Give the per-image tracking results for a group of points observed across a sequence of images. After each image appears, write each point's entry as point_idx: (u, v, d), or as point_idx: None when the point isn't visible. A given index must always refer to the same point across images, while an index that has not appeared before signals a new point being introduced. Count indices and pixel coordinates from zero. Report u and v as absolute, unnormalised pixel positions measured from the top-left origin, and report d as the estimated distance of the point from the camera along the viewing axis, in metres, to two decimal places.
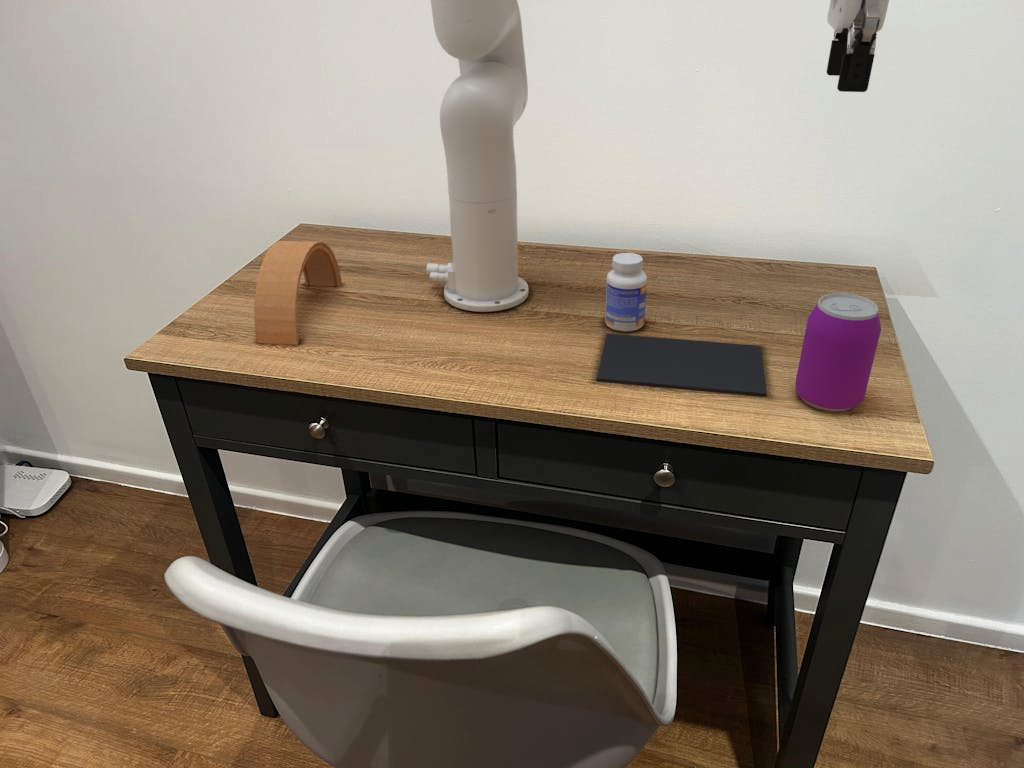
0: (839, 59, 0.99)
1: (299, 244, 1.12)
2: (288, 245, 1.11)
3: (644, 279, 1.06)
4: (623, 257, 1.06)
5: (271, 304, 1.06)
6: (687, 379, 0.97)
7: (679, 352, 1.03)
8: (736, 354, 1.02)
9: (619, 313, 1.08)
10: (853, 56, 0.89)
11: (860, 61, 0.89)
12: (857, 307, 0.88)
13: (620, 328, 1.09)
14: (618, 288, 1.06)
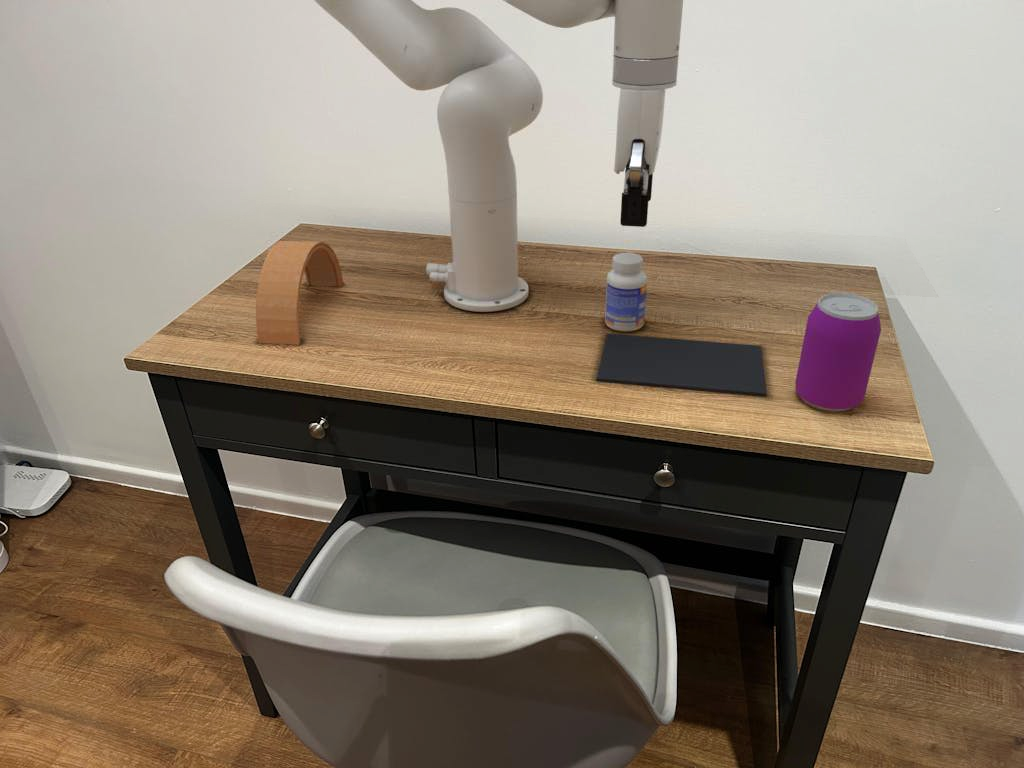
0: None
1: (301, 244, 1.12)
2: (289, 245, 1.11)
3: (644, 279, 1.06)
4: (623, 257, 1.06)
5: (272, 304, 1.06)
6: (687, 379, 0.97)
7: (679, 352, 1.03)
8: (736, 354, 1.02)
9: (619, 313, 1.08)
10: (628, 197, 0.96)
11: (635, 201, 0.96)
12: (857, 307, 0.88)
13: (620, 328, 1.09)
14: (618, 288, 1.06)
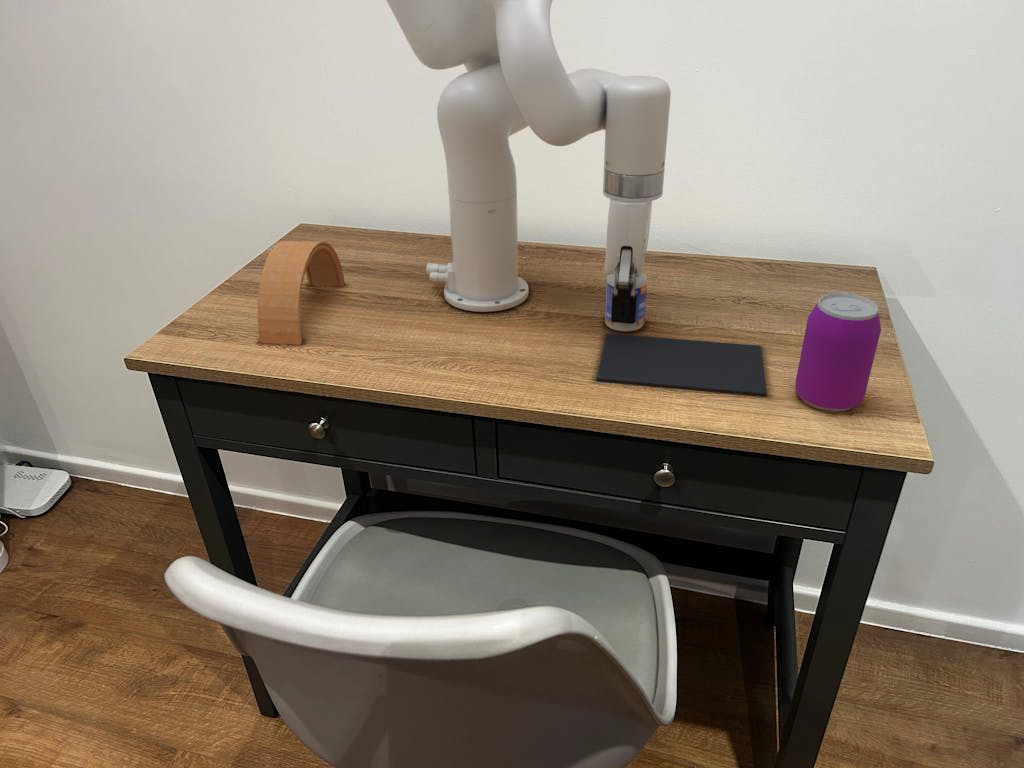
0: None
1: (302, 244, 1.12)
2: (291, 245, 1.11)
3: (644, 279, 1.06)
4: None
5: (274, 304, 1.06)
6: (687, 379, 0.97)
7: (679, 352, 1.03)
8: (736, 354, 1.02)
9: None
10: (618, 298, 1.05)
11: (624, 302, 1.05)
12: (857, 307, 0.88)
13: (620, 328, 1.09)
14: None
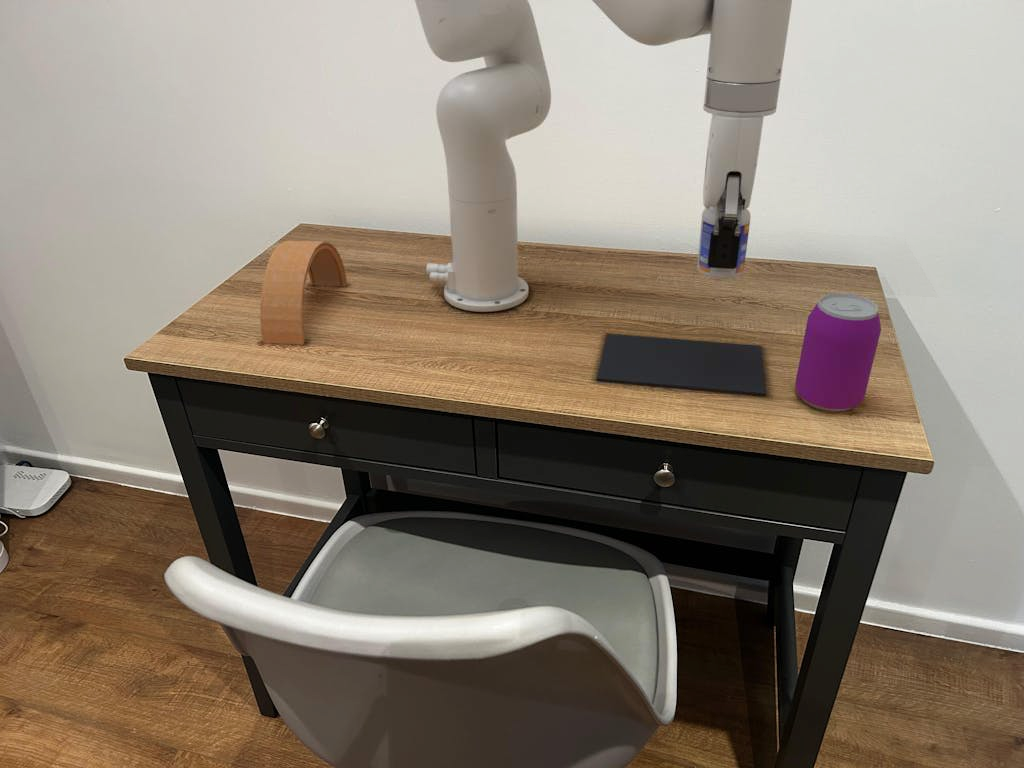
0: None
1: (305, 244, 1.12)
2: (293, 245, 1.11)
3: (748, 215, 0.90)
4: None
5: (277, 304, 1.06)
6: (687, 379, 0.97)
7: (679, 352, 1.03)
8: (736, 354, 1.02)
9: None
10: (719, 237, 0.89)
11: (726, 242, 0.89)
12: (857, 307, 0.88)
13: (718, 275, 0.92)
14: None
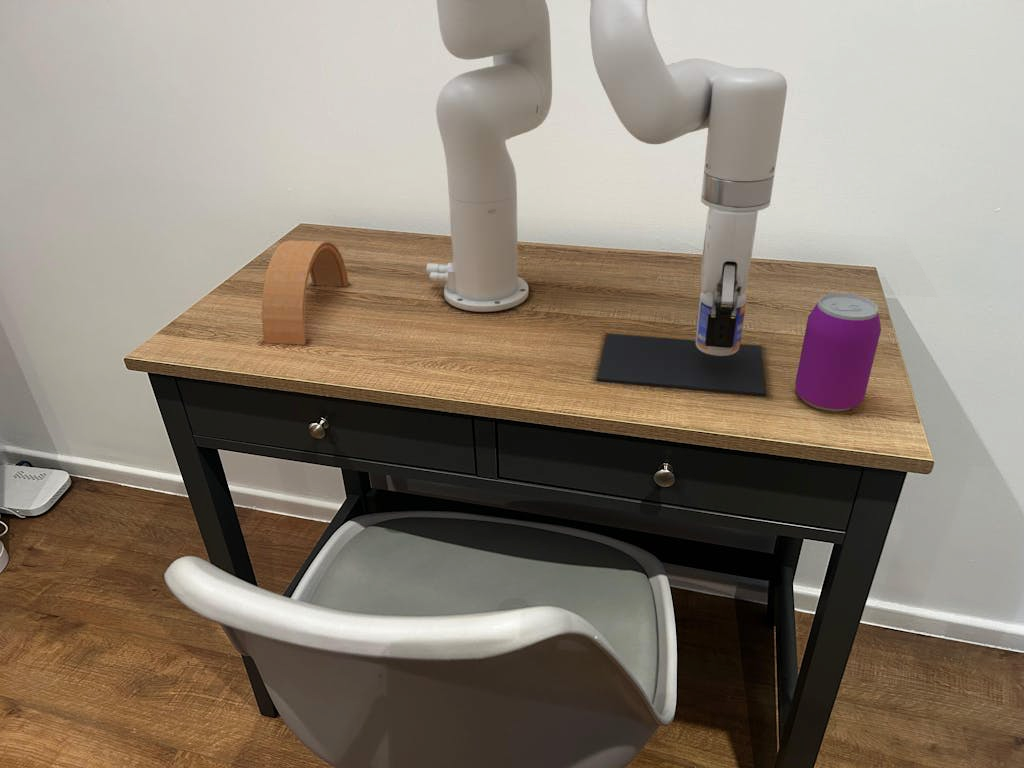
0: None
1: (306, 244, 1.12)
2: (295, 245, 1.11)
3: (744, 297, 0.94)
4: None
5: (278, 304, 1.06)
6: (687, 379, 0.97)
7: (679, 352, 1.03)
8: (736, 354, 1.02)
9: None
10: (716, 320, 0.93)
11: (723, 324, 0.93)
12: (857, 307, 0.88)
13: (715, 352, 0.97)
14: None
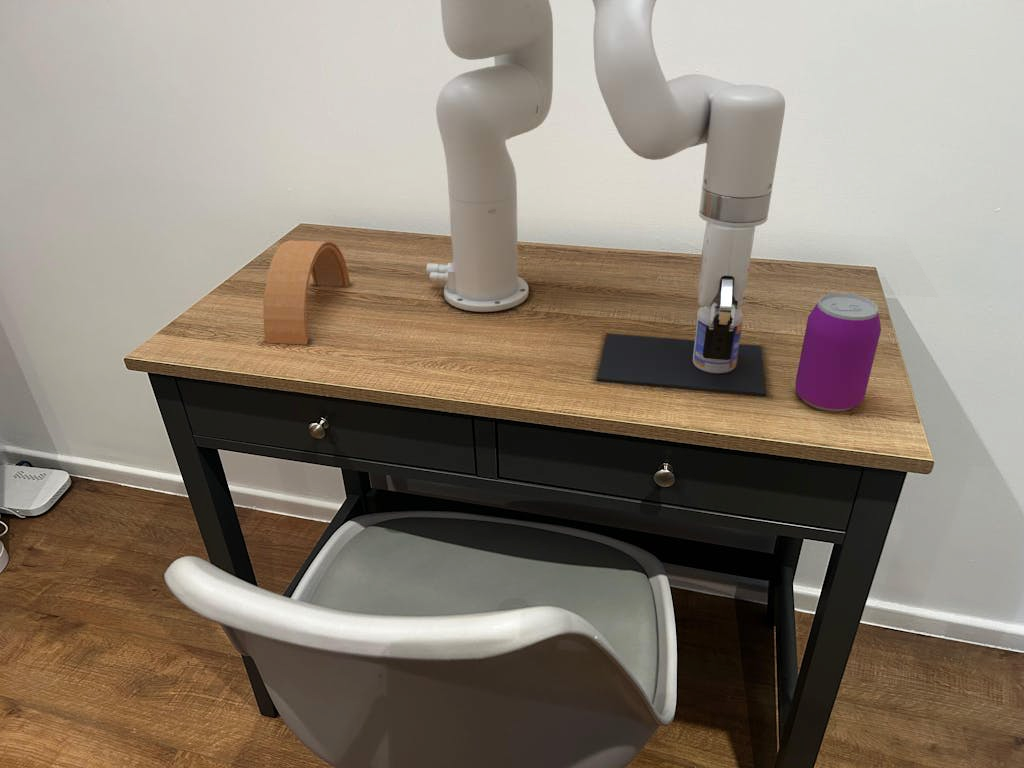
0: None
1: (308, 244, 1.12)
2: (296, 245, 1.11)
3: (741, 316, 0.96)
4: None
5: (280, 304, 1.06)
6: (687, 379, 0.97)
7: (679, 352, 1.03)
8: None
9: None
10: (714, 332, 0.92)
11: (721, 336, 0.92)
12: (857, 307, 0.88)
13: (712, 370, 0.98)
14: None
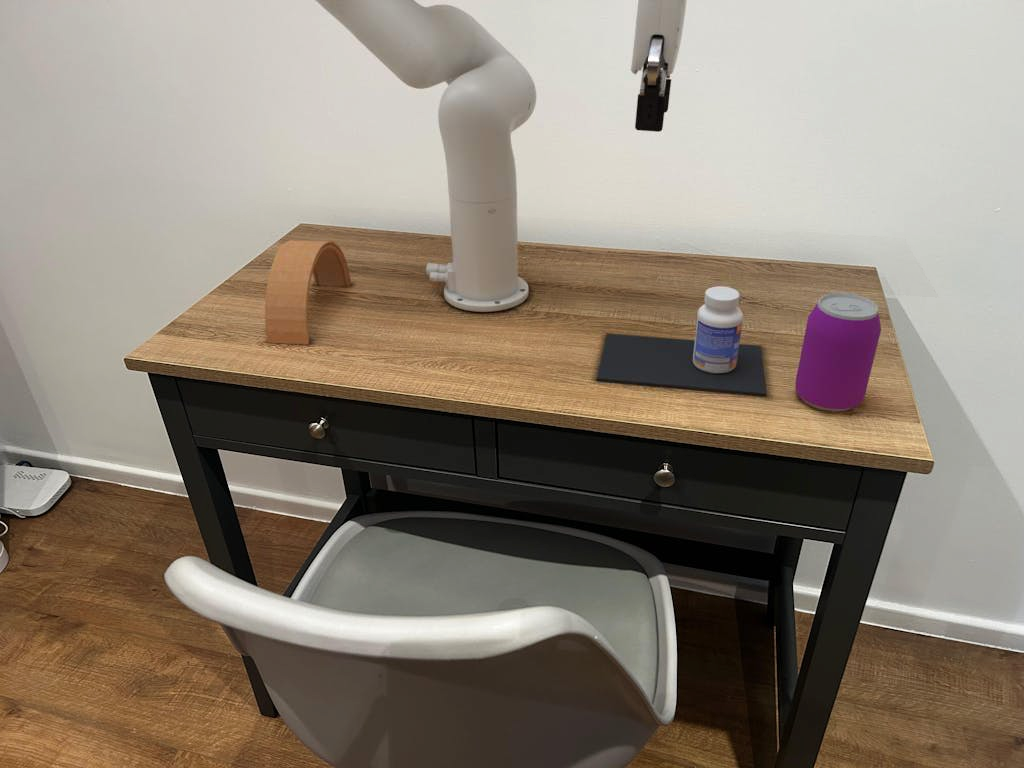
0: None
1: (309, 244, 1.12)
2: (298, 245, 1.11)
3: (741, 316, 0.96)
4: (717, 292, 0.96)
5: (281, 304, 1.06)
6: (687, 379, 0.97)
7: (679, 352, 1.03)
8: None
9: (712, 354, 0.97)
10: (645, 97, 0.92)
11: (652, 102, 0.93)
12: (857, 307, 0.88)
13: (712, 370, 0.98)
14: (712, 327, 0.95)
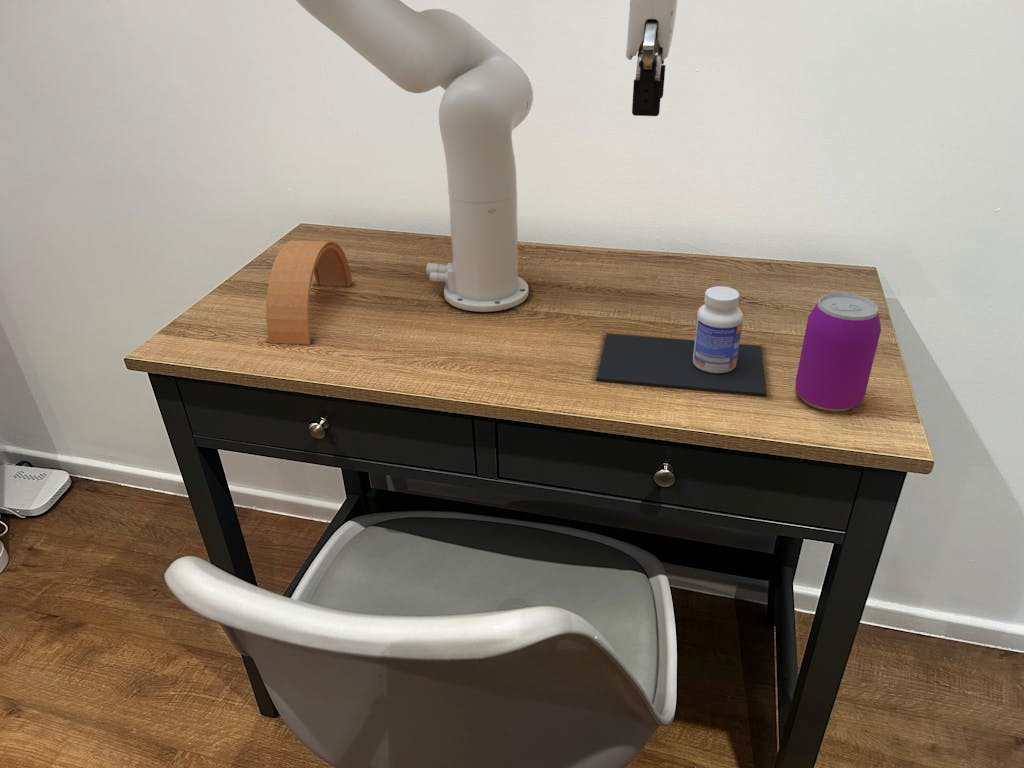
0: None
1: (311, 244, 1.12)
2: (299, 245, 1.11)
3: (741, 316, 0.96)
4: (717, 292, 0.96)
5: (283, 304, 1.06)
6: (687, 379, 0.97)
7: (679, 352, 1.03)
8: None
9: (712, 354, 0.97)
10: (641, 82, 0.93)
11: (648, 87, 0.93)
12: (857, 307, 0.88)
13: (712, 370, 0.98)
14: (712, 327, 0.95)
